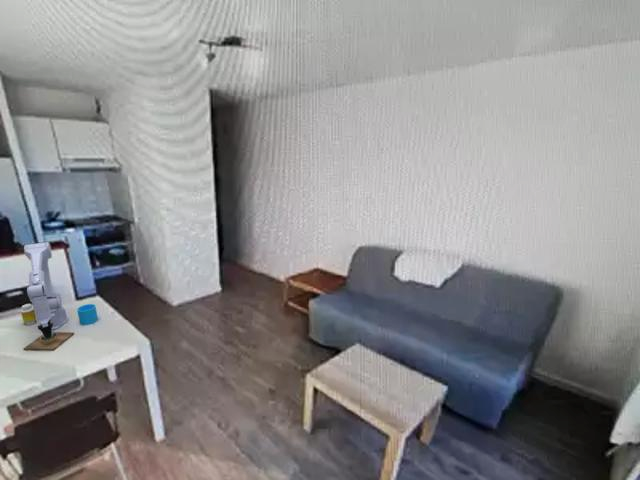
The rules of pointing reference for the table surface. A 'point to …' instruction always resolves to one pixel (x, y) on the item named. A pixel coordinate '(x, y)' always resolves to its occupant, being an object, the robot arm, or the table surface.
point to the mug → (87, 314)
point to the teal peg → (51, 335)
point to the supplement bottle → (28, 314)
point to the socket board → (52, 346)
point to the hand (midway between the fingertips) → (48, 333)
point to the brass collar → (49, 339)
